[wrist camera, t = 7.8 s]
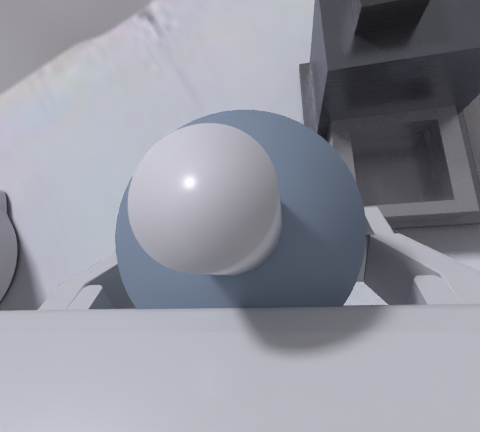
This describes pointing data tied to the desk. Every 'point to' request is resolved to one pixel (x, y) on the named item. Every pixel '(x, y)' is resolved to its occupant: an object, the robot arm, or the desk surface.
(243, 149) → the bottle
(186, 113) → the desk surface
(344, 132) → the gray recessed holder
